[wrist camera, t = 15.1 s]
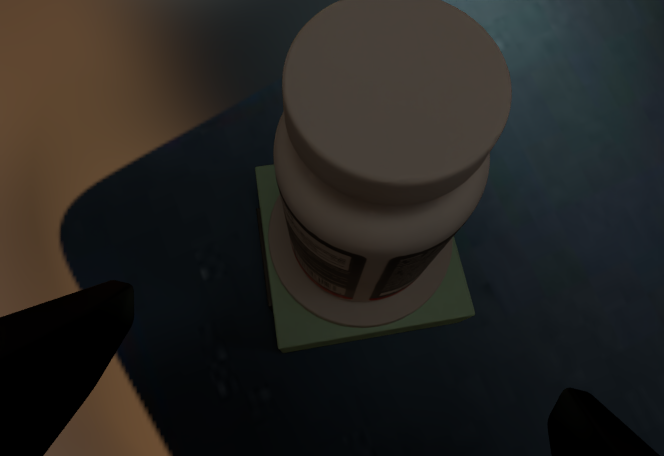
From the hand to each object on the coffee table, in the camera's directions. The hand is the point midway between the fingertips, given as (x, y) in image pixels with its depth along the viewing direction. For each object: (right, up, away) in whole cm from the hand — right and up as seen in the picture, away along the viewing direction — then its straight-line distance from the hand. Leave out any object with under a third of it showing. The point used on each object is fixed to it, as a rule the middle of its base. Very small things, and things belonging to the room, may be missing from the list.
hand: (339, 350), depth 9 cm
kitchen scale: (+1, +1, +12) cm, 12 cm away
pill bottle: (+1, +2, +9) cm, 10 cm away
